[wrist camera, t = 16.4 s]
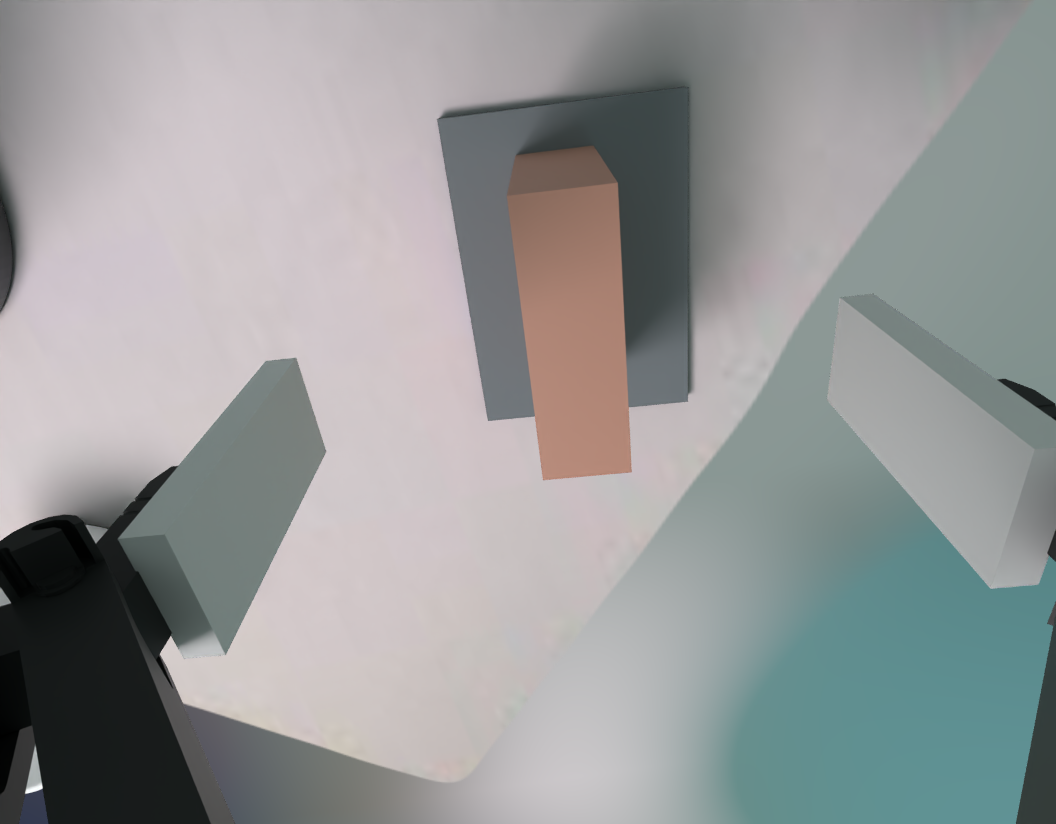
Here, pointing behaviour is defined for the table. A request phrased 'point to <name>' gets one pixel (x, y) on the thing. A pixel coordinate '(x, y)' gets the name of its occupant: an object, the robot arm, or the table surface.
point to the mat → (645, 231)
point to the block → (572, 309)
